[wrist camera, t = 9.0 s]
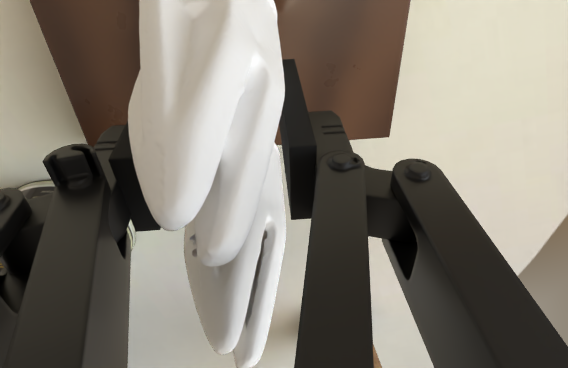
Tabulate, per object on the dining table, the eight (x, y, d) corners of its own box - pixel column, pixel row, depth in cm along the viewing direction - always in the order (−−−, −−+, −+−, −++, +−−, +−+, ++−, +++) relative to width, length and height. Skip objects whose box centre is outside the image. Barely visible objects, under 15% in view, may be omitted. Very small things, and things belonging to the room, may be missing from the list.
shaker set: (147, -77, 13) (-56, 13, 4) (271, -82, 13) (316, -5, 4) (202, 196, 20) (169, 431, 12) (281, 191, 21) (306, 418, 12)
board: (101, 142, 27) (93, 158, 26) (8, -105, 19) (-14, -104, 17) (381, 123, 28) (389, 137, 27) (415, -123, 20) (430, -123, 18)
